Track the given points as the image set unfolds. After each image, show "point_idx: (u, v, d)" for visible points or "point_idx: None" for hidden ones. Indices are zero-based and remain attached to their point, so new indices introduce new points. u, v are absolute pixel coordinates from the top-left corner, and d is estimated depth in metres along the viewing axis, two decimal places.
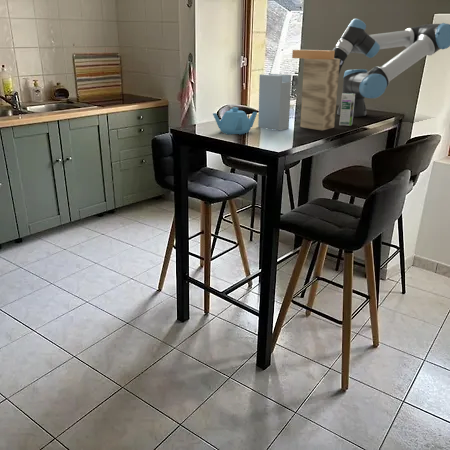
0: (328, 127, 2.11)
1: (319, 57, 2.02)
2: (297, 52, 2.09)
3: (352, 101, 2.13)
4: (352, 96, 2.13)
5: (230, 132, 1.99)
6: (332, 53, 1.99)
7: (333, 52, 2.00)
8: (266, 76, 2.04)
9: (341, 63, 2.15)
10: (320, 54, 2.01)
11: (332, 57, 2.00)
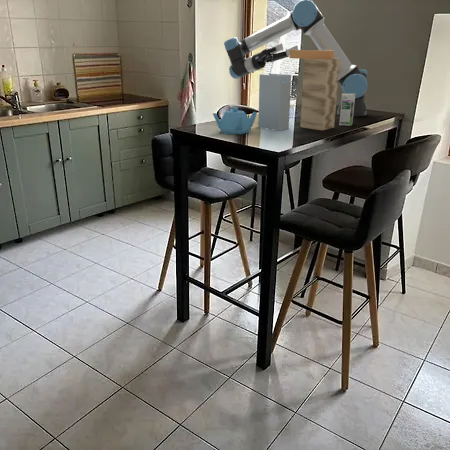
0: (328, 127, 2.11)
1: (319, 57, 2.03)
2: (295, 52, 2.08)
3: (352, 101, 2.13)
4: (352, 96, 2.13)
5: (230, 132, 1.99)
6: (333, 53, 2.01)
7: (333, 52, 2.01)
8: (266, 76, 2.04)
9: (256, 57, 2.25)
10: (321, 54, 2.02)
11: (332, 57, 2.02)
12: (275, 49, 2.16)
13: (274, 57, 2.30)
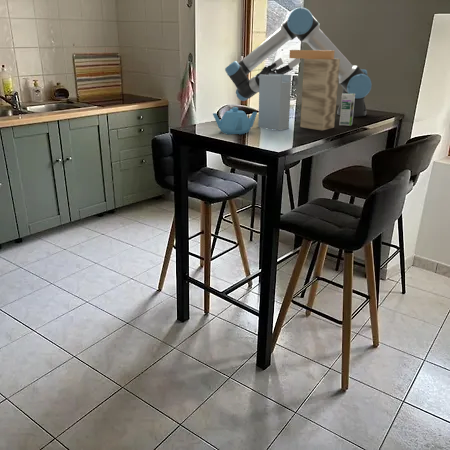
0: (328, 127, 2.11)
1: (319, 57, 2.03)
2: (295, 52, 2.08)
3: (352, 101, 2.13)
4: (352, 96, 2.13)
5: (230, 132, 1.99)
6: (333, 53, 2.01)
7: (333, 52, 2.01)
8: (266, 76, 2.04)
9: (259, 76, 2.21)
10: (321, 54, 2.02)
11: (332, 57, 2.02)
12: (275, 65, 2.12)
13: (277, 72, 2.25)
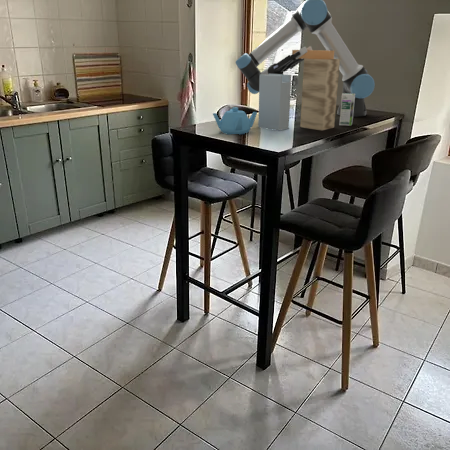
0: (328, 127, 2.11)
1: (319, 57, 2.02)
2: None
3: (352, 101, 2.13)
4: (352, 96, 2.13)
5: (230, 132, 1.99)
6: (332, 53, 1.99)
7: (332, 52, 2.00)
8: (266, 76, 2.04)
9: (275, 66, 2.14)
10: (320, 54, 2.01)
11: (332, 57, 2.00)
12: (299, 53, 2.07)
13: (289, 64, 2.17)
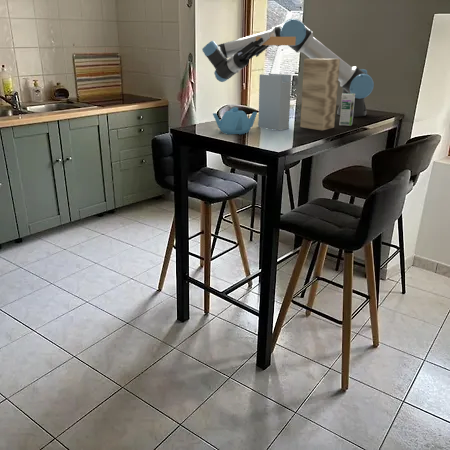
0: (328, 127, 2.11)
1: (280, 43, 2.02)
2: None
3: (352, 101, 2.13)
4: (352, 96, 2.13)
5: (230, 132, 1.99)
6: (293, 39, 1.99)
7: (294, 38, 1.99)
8: (266, 76, 2.04)
9: (240, 52, 2.14)
10: (282, 40, 2.01)
11: (293, 43, 2.00)
12: (262, 40, 2.07)
13: (254, 51, 2.17)
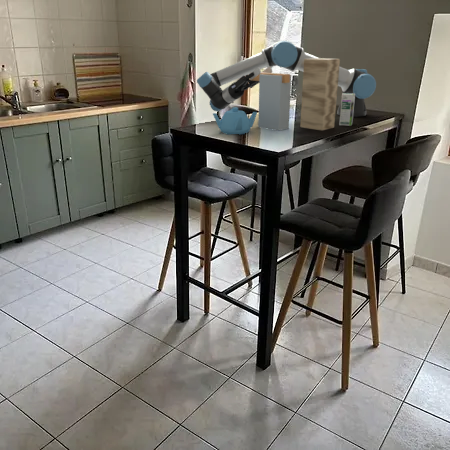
0: (328, 127, 2.11)
1: None
2: None
3: (352, 101, 2.13)
4: (352, 96, 2.13)
5: (230, 132, 1.99)
6: (287, 77, 2.01)
7: (288, 76, 2.01)
8: (266, 76, 2.04)
9: (233, 86, 2.15)
10: None
11: (287, 80, 2.02)
12: (253, 74, 2.07)
13: (250, 83, 2.19)
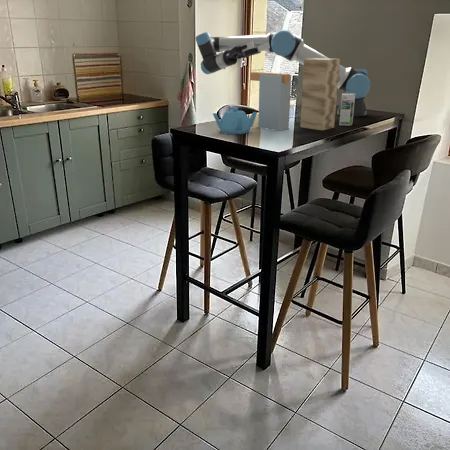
0: (328, 127, 2.11)
1: None
2: (254, 74, 2.11)
3: (352, 101, 2.13)
4: (352, 96, 2.13)
5: (231, 132, 1.99)
6: (287, 77, 2.01)
7: (288, 76, 2.01)
8: (266, 76, 2.04)
9: (227, 54, 2.22)
10: None
11: (287, 80, 2.02)
12: (246, 47, 2.14)
13: (245, 53, 2.27)
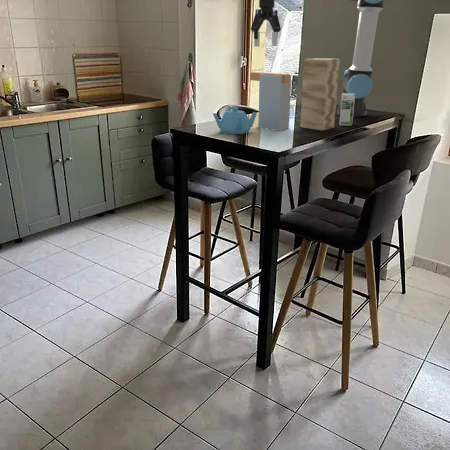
0: (328, 127, 2.11)
1: None
2: (254, 74, 2.11)
3: (352, 101, 2.13)
4: (352, 96, 2.13)
5: (231, 132, 1.99)
6: (287, 77, 2.01)
7: (288, 76, 2.01)
8: (266, 76, 2.04)
9: (257, 12, 2.18)
10: None
11: (287, 80, 2.02)
12: (255, 38, 2.22)
13: (269, 20, 2.26)
